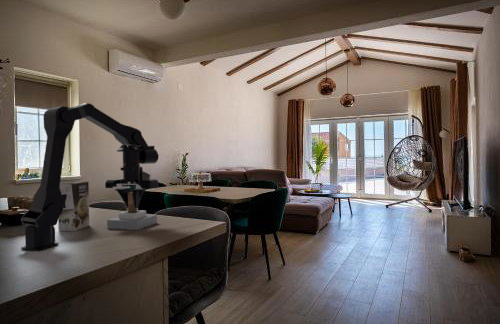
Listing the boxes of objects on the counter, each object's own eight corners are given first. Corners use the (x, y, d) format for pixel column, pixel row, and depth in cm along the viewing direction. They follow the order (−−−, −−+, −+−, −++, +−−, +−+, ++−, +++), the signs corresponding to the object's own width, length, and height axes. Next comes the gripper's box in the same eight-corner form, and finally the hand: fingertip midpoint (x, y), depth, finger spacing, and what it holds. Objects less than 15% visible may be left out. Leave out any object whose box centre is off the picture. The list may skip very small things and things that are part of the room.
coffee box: (76, 231, 110) (75, 183, 109) (57, 231, 110) (56, 183, 109) (90, 225, 119) (89, 181, 118) (73, 225, 119) (71, 181, 118)
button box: (137, 230, 109) (136, 215, 109) (107, 228, 113) (106, 214, 113) (157, 222, 121) (156, 209, 121) (129, 221, 124) (129, 208, 124)
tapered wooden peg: (133, 215, 115) (133, 192, 115) (126, 215, 116) (125, 192, 115) (138, 214, 118) (138, 192, 117) (131, 213, 118) (131, 191, 118)
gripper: (166, 163, 121) (167, 205, 122) (124, 163, 127) (125, 203, 127) (149, 164, 111) (150, 210, 111) (103, 164, 116) (104, 208, 116)
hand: (132, 207), depth 117 cm, fingers closed on tapered wooden peg, 3 cm apart
